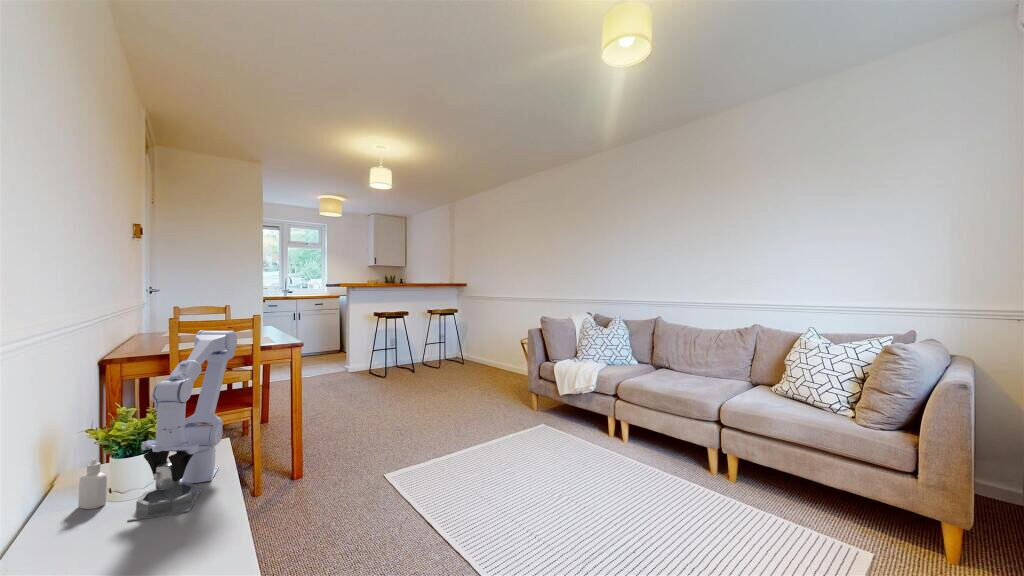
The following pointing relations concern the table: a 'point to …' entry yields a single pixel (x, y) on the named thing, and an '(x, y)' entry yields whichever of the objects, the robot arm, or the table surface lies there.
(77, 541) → the table surface
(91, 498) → the eye dropper bottle
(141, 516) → the collar
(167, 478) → the silver short rounded cylinder
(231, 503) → the table surface
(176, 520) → the table surface
